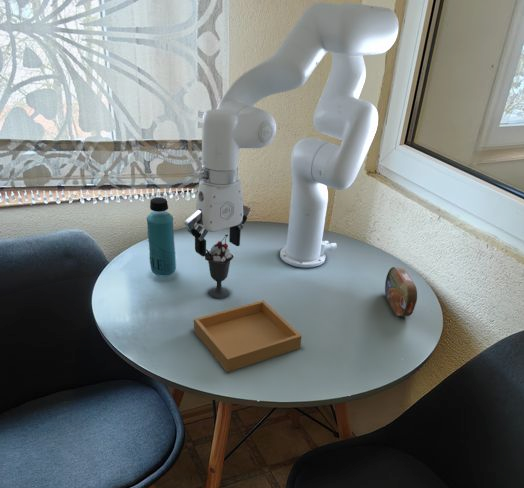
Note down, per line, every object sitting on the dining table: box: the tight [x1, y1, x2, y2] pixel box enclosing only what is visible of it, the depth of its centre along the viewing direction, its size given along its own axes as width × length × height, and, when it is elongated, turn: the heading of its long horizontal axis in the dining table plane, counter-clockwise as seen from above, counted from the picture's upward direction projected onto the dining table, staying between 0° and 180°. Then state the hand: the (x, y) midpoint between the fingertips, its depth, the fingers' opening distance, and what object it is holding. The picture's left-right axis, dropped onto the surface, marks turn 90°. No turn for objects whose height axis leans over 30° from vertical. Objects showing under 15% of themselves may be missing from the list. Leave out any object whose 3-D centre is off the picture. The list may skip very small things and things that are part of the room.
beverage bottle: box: [146, 196, 177, 277], centre depth 125 cm, size 6×7×20 cm
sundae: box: [204, 234, 235, 299], centre depth 121 cm, size 7×7×15 cm
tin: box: [384, 266, 418, 317], centre depth 123 cm, size 15×3×8 cm, turn 5°
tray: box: [193, 299, 303, 373], centre depth 110 cm, size 18×16×3 cm
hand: (217, 248), depth 118 cm, fingers open, 9 cm apart
